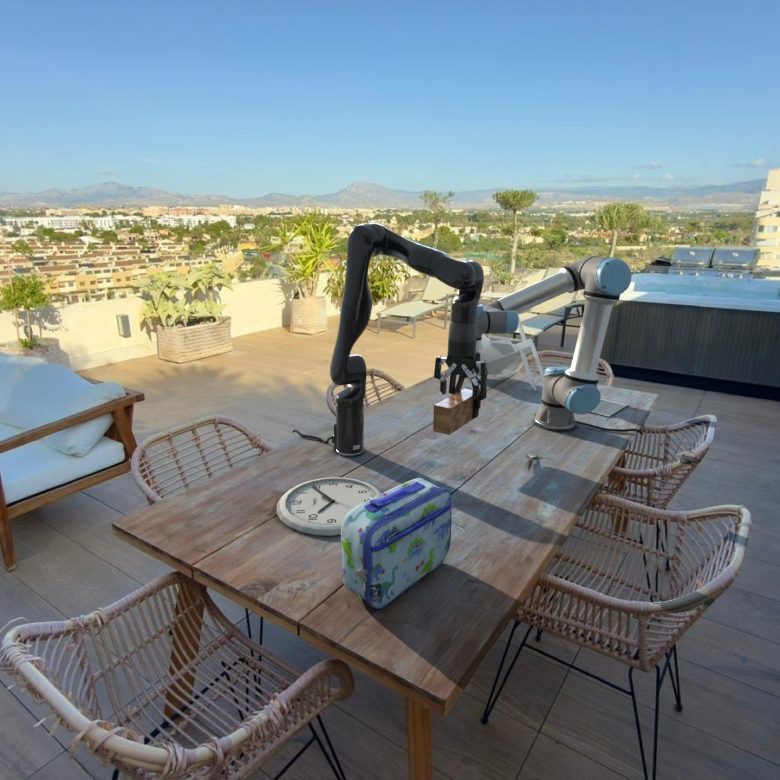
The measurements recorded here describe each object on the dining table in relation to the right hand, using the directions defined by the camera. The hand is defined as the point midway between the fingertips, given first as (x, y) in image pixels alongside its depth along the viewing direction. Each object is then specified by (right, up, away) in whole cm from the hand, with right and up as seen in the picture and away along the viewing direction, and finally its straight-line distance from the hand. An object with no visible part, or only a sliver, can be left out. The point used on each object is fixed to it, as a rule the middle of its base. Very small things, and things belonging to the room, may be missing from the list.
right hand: (466, 415), depth 183 cm
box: (-4, -2, -5) cm, 7 cm away
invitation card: (+65, +2, +43) cm, 78 cm away
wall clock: (-42, -23, -41) cm, 63 cm away
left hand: (-8, +7, -39) cm, 41 cm away
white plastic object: (+27, +12, +73) cm, 79 cm away
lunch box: (-25, -32, -70) cm, 81 cm away
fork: (+20, -15, -12) cm, 27 cm away
